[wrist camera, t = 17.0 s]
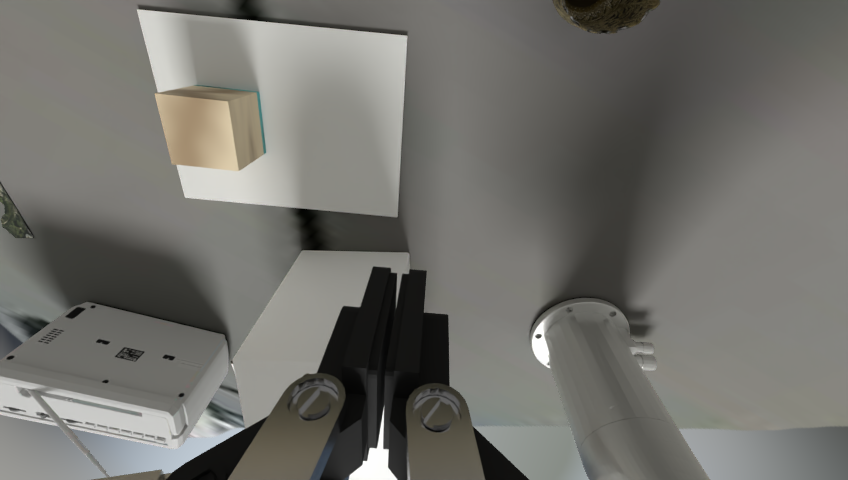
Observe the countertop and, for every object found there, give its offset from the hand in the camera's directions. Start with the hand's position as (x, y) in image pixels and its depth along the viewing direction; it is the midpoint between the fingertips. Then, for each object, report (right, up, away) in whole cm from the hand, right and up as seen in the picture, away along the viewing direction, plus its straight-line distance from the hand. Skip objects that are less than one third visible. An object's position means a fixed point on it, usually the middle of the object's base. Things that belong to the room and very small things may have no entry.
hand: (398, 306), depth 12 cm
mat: (-13, +14, +25) cm, 32 cm away
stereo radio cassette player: (-37, -11, +41) cm, 56 cm away
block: (-19, +11, +20) cm, 29 cm away
